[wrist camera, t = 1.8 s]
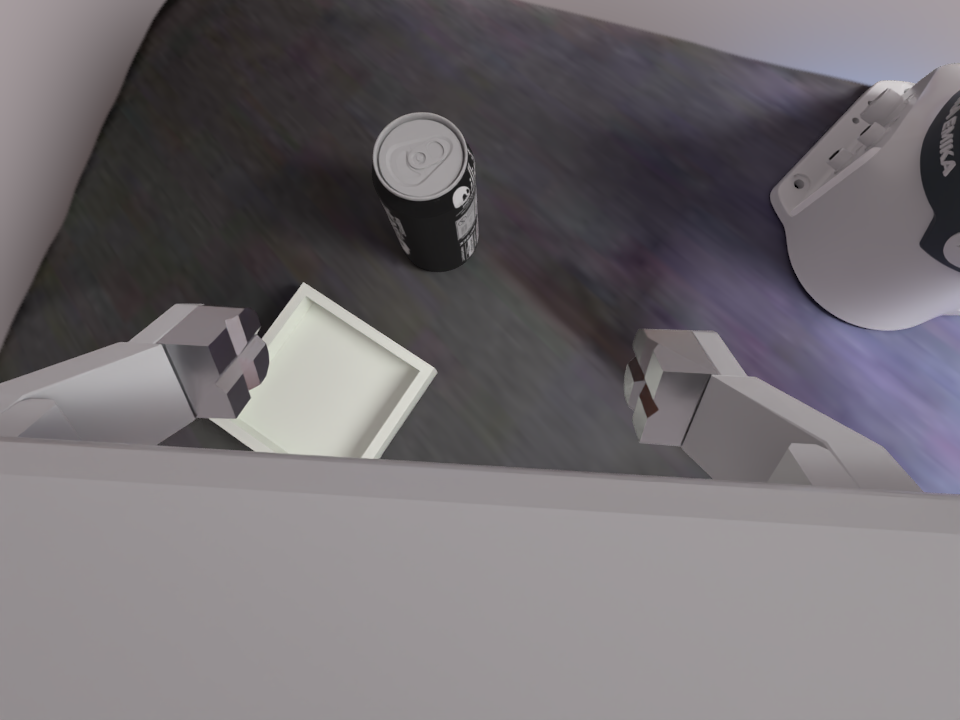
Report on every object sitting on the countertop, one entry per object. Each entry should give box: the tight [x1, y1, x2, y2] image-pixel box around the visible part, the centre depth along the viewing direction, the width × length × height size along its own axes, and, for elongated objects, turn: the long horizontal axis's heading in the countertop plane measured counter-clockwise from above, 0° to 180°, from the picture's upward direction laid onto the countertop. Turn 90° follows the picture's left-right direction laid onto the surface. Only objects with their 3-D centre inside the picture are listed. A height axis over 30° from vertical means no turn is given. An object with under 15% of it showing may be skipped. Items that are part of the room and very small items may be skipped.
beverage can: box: [372, 112, 479, 272], centre depth 33 cm, size 7×7×12 cm
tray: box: [209, 282, 438, 459], centre depth 36 cm, size 13×13×2 cm
